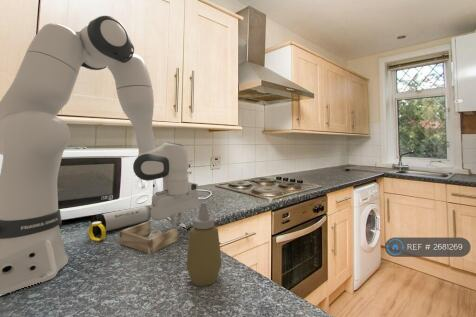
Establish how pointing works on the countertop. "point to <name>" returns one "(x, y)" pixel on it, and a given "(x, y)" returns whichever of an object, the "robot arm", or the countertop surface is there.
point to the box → (148, 245)
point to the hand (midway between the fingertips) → (176, 225)
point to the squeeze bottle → (203, 249)
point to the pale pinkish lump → (154, 233)
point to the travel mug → (121, 218)
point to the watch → (100, 228)
